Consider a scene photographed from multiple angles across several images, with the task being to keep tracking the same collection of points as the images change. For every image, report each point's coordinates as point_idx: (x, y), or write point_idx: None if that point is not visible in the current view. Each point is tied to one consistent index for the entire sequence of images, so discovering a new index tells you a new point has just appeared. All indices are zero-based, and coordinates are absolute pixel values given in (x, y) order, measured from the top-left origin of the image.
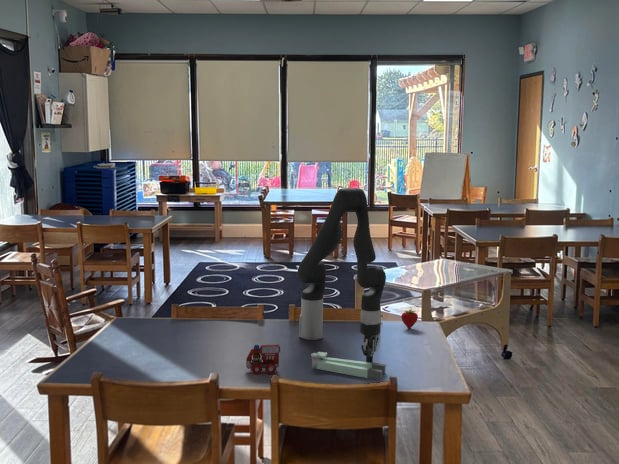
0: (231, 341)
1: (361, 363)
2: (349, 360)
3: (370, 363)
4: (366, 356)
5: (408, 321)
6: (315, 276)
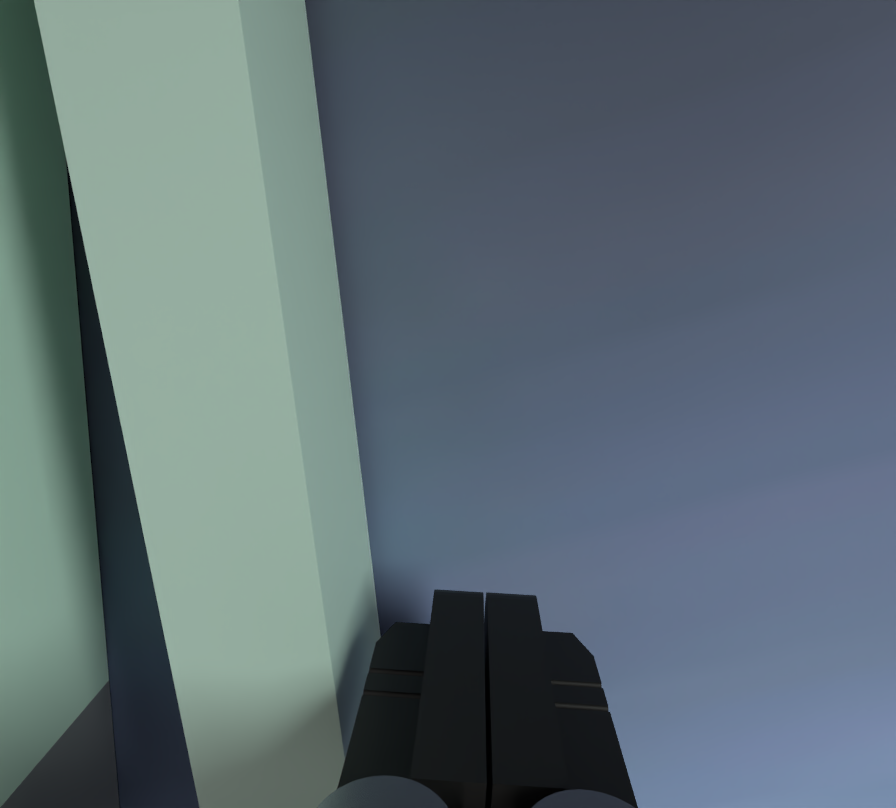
0: None
1: (156, 576)
2: (210, 119)
3: (279, 797)
4: (410, 767)
5: None
6: None
